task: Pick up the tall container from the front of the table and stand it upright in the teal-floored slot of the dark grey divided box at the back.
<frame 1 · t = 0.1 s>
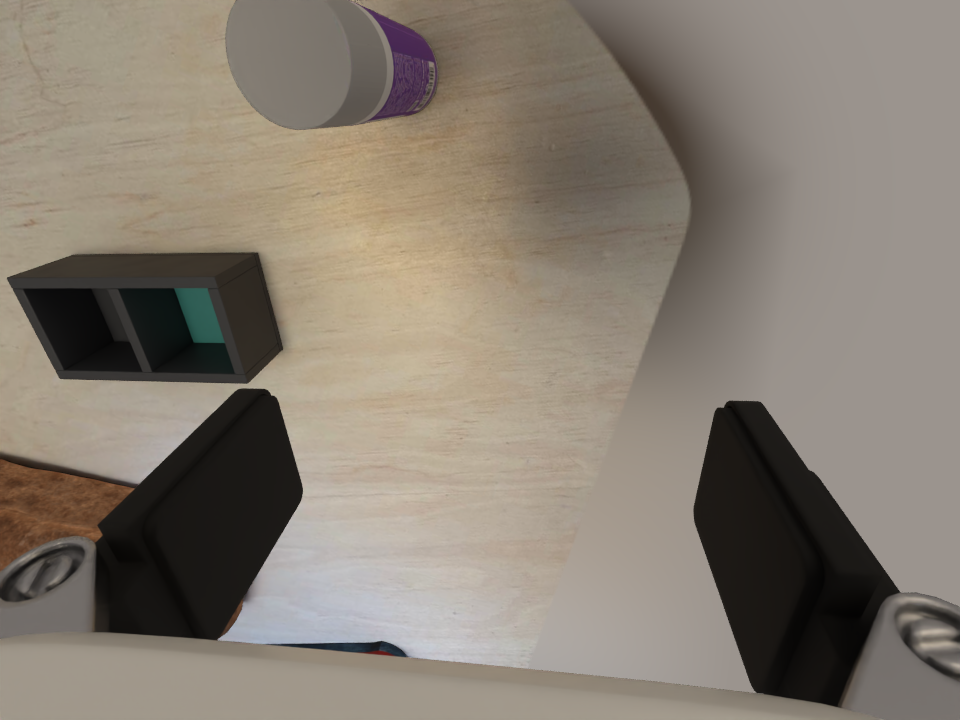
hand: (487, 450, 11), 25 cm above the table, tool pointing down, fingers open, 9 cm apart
container: (401, 73, 30), on the table
book: (315, 656, 62), on the table
bread: (122, 529, 54), on the table
dark grey divided box: (181, 303, 39), on the table
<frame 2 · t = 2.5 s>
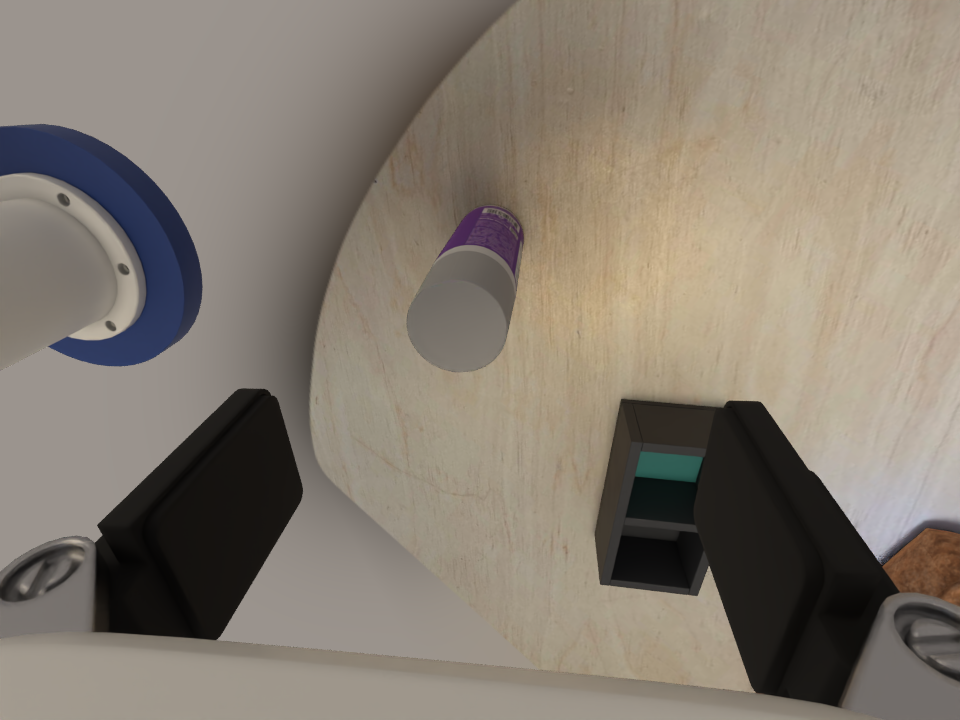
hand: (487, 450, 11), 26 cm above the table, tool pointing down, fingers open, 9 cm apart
container: (490, 237, 35), on the table
bread: (899, 634, 49), on the table
dark grey divided box: (653, 477, 43), on the table
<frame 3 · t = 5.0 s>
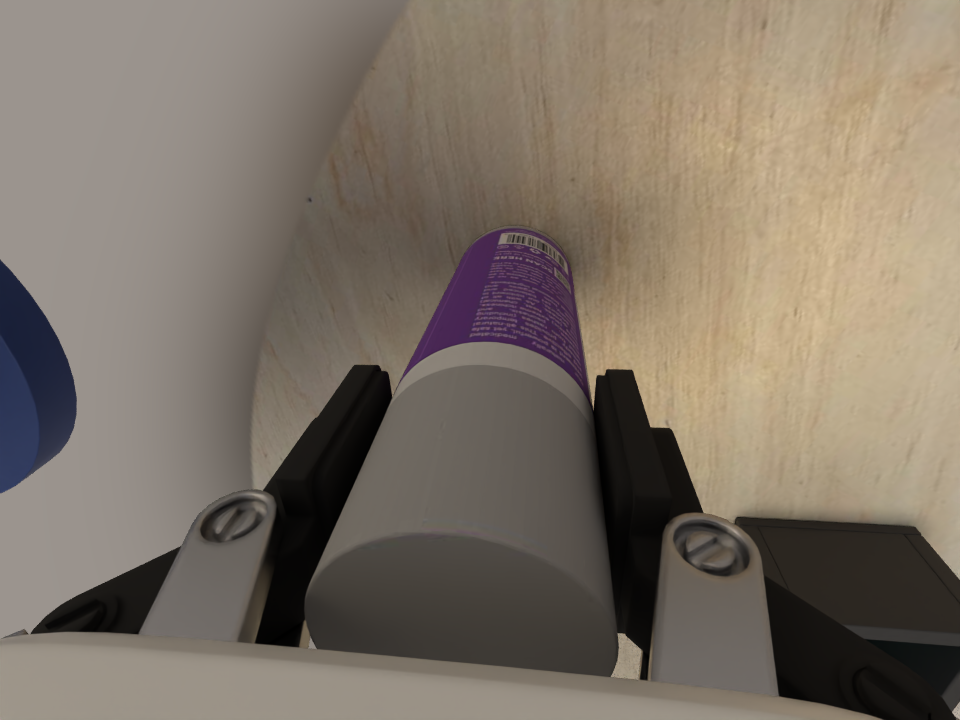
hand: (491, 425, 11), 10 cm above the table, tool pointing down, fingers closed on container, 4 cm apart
container: (514, 281, 20), on the table, touching gripper
dark grey divided box: (784, 620, 28), on the table
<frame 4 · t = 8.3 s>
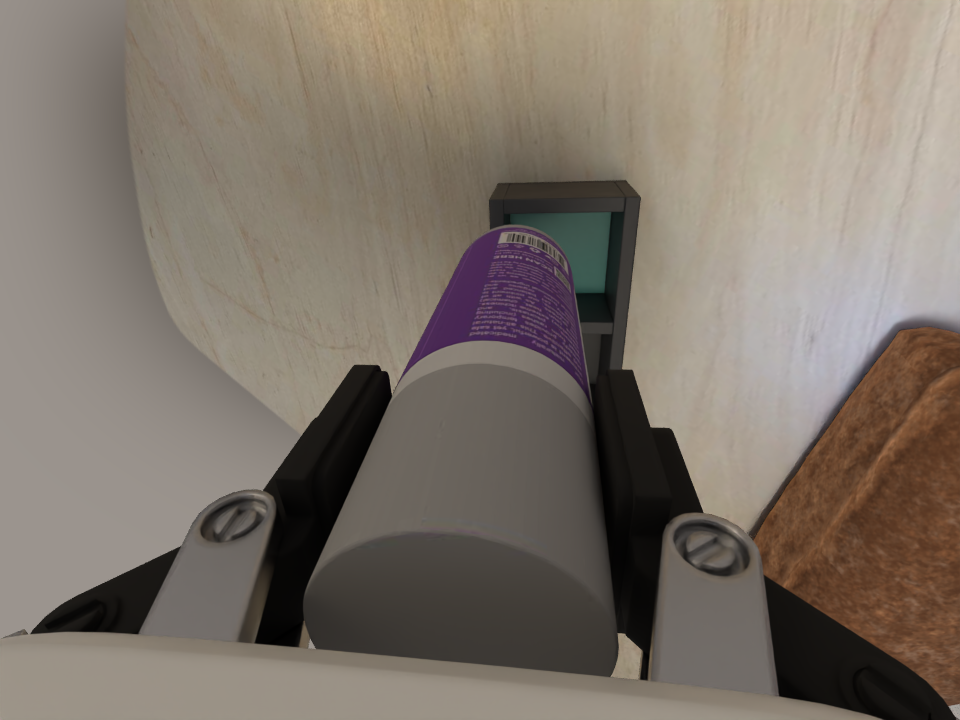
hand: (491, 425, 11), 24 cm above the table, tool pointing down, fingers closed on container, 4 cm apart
container: (514, 280, 20), point 14 cm above the table, touching gripper
bread: (886, 493, 40), on the table
dark grey divided box: (556, 295, 35), on the table
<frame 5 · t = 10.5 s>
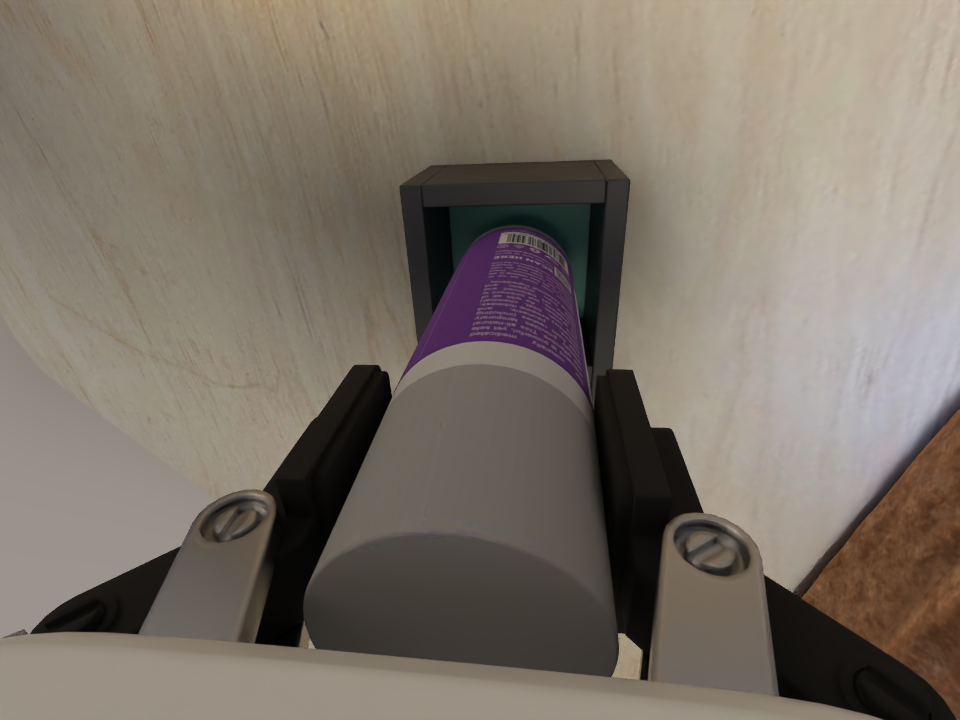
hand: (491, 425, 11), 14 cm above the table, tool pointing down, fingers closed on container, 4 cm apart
container: (514, 280, 20), point 4 cm above the table, touching gripper
bread: (956, 572, 31), on the table
dark grey divided box: (519, 320, 26), on the table
when the fingers open (10 cm above the table, at t = 11.9 s): container stays where it is, resting on dark grey divided box.
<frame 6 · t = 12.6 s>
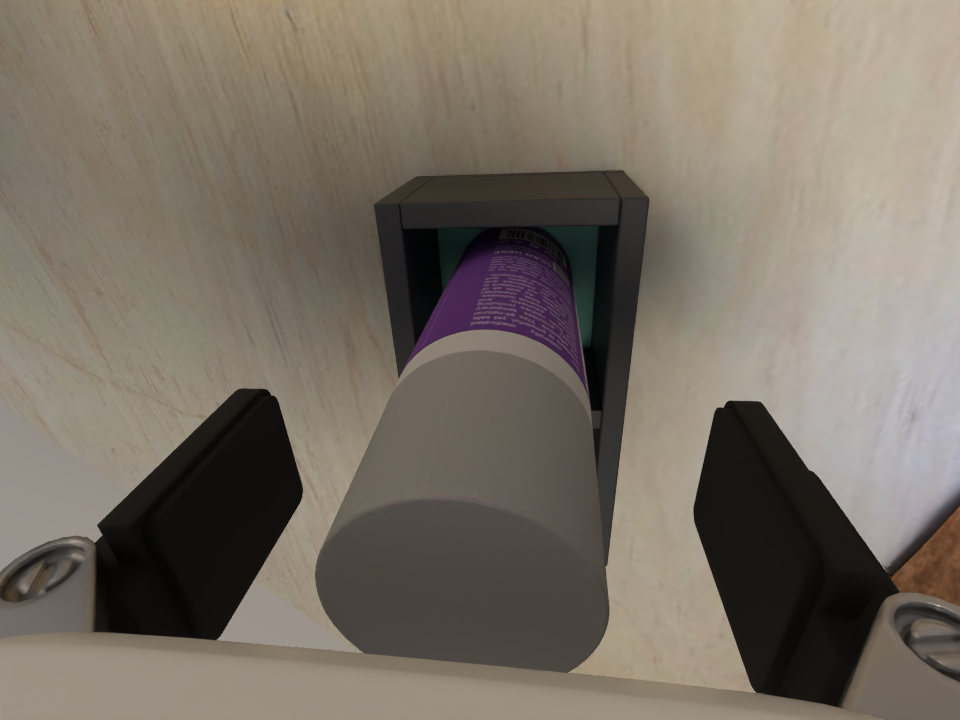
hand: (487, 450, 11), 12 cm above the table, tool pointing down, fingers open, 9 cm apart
container: (514, 275, 21), point 1 cm above the table, touching dark grey divided box
dark grey divided box: (518, 349, 23), on the table
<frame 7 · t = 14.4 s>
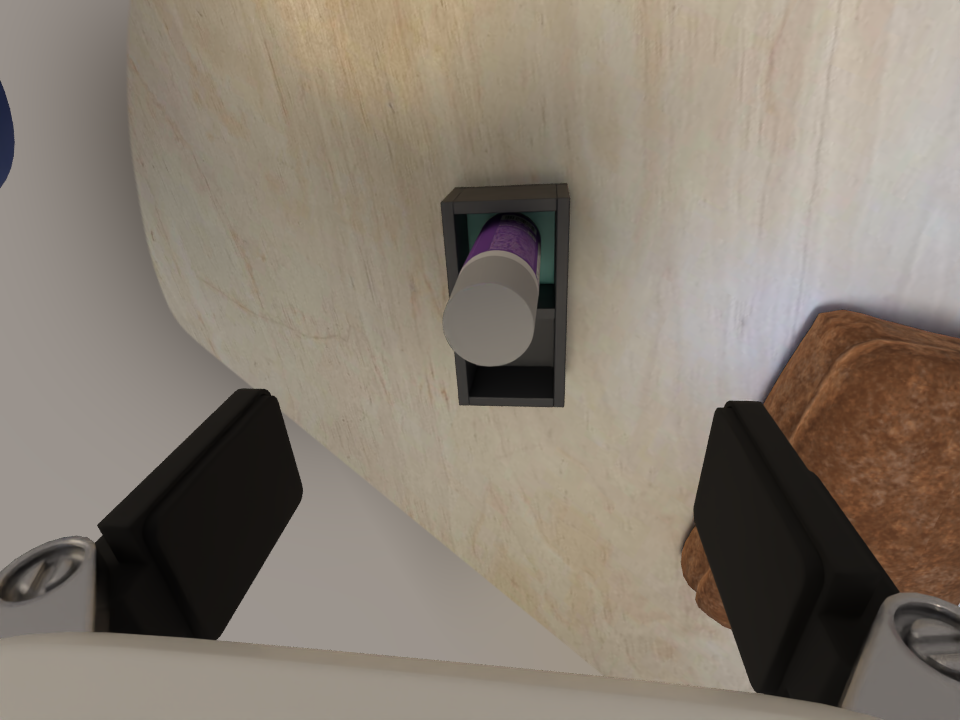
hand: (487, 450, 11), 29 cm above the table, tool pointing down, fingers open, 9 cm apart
container: (509, 242, 37), point 1 cm above the table, touching dark grey divided box
bread: (822, 464, 43), on the table
dark grey divided box: (513, 286, 39), on the table
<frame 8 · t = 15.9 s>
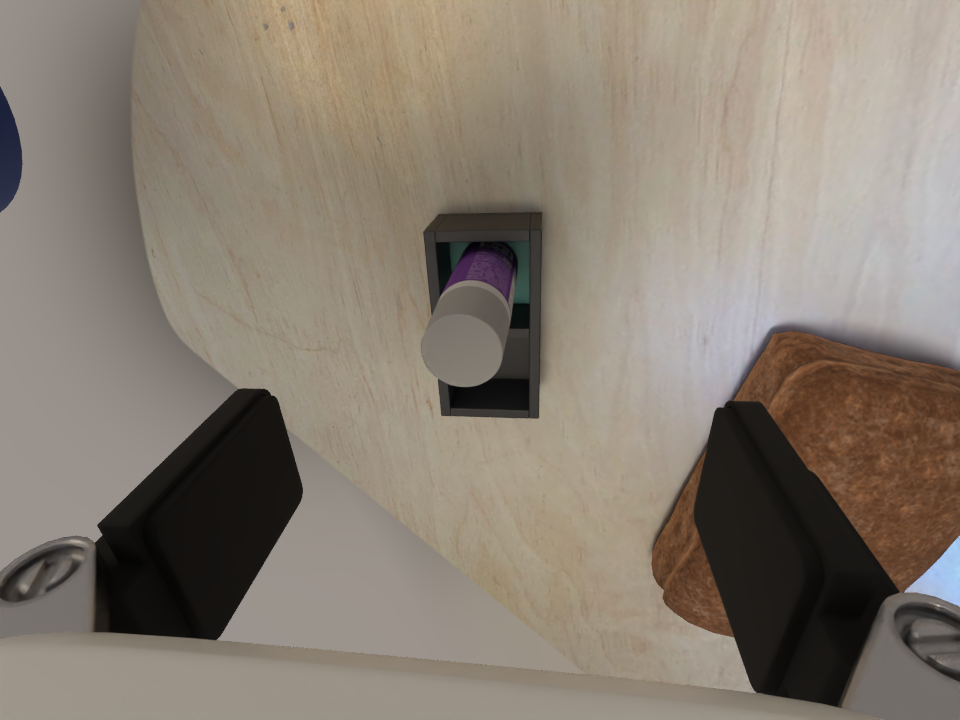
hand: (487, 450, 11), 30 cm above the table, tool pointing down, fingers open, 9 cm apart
container: (489, 265, 39), point 1 cm above the table, touching dark grey divided box
bread: (781, 472, 47), on the table
dark grey divided box: (492, 305, 42), on the table
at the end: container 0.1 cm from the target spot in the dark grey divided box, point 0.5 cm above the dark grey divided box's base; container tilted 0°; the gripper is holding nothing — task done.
